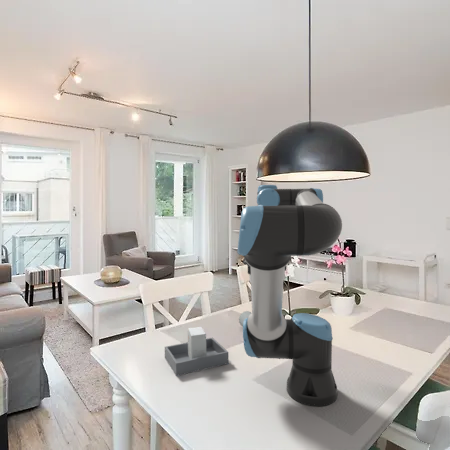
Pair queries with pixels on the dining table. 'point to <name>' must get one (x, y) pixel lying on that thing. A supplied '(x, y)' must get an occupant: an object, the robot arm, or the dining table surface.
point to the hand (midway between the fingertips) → (267, 281)
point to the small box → (196, 342)
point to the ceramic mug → (243, 317)
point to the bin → (184, 364)
